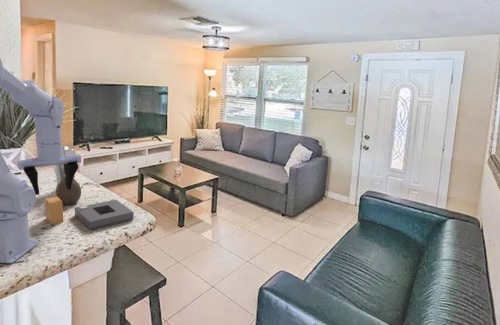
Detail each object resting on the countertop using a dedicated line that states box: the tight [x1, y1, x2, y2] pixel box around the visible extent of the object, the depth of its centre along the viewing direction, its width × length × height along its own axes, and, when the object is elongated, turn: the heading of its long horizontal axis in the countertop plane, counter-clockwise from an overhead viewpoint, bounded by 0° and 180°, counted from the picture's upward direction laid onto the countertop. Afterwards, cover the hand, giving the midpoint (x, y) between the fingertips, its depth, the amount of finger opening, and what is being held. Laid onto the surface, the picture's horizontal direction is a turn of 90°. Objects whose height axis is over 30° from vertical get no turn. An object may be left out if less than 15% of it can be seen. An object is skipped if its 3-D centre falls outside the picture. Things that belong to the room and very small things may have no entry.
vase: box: [55, 176, 82, 206], centre depth 103 cm, size 7×7×9 cm
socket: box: [74, 199, 135, 231], centre depth 95 cm, size 12×12×3 cm
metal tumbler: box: [52, 145, 77, 189], centre depth 113 cm, size 7×7×15 cm
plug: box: [44, 196, 64, 225], centre depth 91 cm, size 4×3×6 cm, turn 45°
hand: (53, 190), depth 89 cm, fingers open, 7 cm apart
